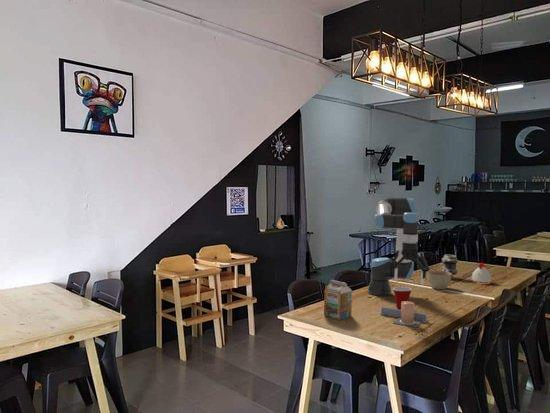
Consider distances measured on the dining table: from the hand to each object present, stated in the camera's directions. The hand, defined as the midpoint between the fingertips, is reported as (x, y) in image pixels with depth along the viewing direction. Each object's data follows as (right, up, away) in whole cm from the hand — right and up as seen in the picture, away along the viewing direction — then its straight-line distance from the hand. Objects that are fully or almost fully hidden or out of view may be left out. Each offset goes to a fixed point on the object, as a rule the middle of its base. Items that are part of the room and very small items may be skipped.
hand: (408, 282), depth 224 cm
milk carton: (-36, -20, +9) cm, 42 cm away
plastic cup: (+4, -20, +25) cm, 32 cm away
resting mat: (-1, -21, -1) cm, 21 cm away
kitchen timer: (+85, -17, +97) cm, 130 cm away
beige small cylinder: (-1, -20, -1) cm, 20 cm away
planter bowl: (+45, -18, +77) cm, 91 cm away
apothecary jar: (+66, -16, +110) cm, 129 cm away
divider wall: (-1, -20, +7) cm, 21 cm away
